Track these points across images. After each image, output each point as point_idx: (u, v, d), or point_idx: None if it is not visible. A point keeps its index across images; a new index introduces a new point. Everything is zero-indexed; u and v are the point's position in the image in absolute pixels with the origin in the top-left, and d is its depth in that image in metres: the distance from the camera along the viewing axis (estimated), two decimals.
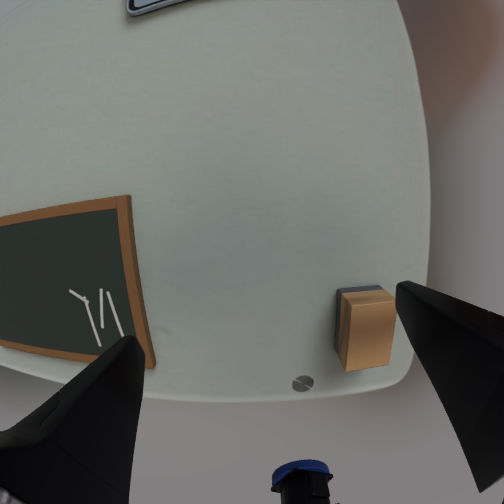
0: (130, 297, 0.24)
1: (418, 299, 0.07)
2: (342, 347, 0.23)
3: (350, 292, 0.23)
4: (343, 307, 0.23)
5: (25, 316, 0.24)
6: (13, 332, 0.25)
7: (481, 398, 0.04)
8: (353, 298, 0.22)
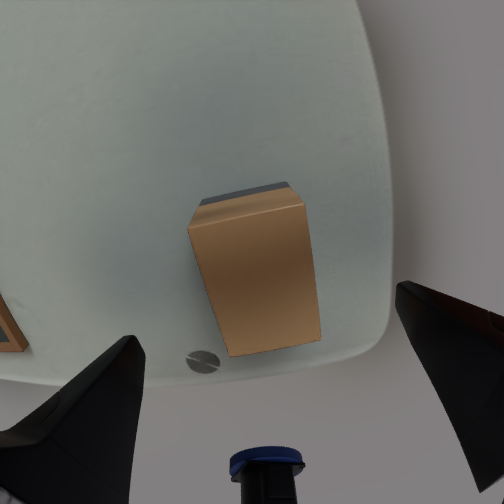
0: None
1: (418, 299, 0.07)
2: None
3: (215, 202, 0.12)
4: None
5: None
6: None
7: (481, 398, 0.04)
8: (208, 212, 0.11)
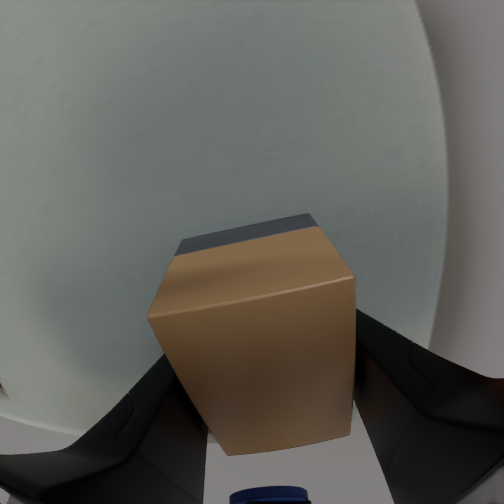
0: None
1: None
2: None
3: (199, 250, 0.08)
4: None
5: None
6: None
7: (393, 439, 0.05)
8: (185, 276, 0.06)
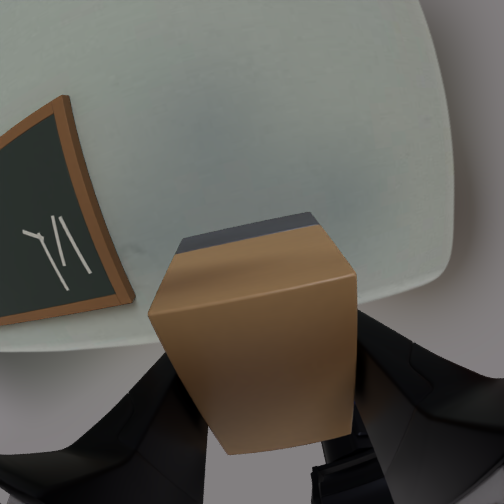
0: (85, 214, 0.17)
1: None
2: None
3: (200, 248, 0.08)
4: None
5: None
6: None
7: (393, 439, 0.05)
8: (186, 274, 0.06)
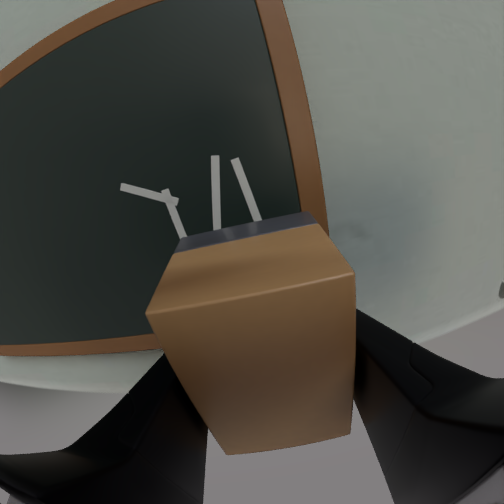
0: (298, 161, 0.10)
1: None
2: None
3: (199, 248, 0.08)
4: None
5: (24, 287, 0.12)
6: (10, 326, 0.13)
7: (393, 439, 0.05)
8: (183, 273, 0.06)
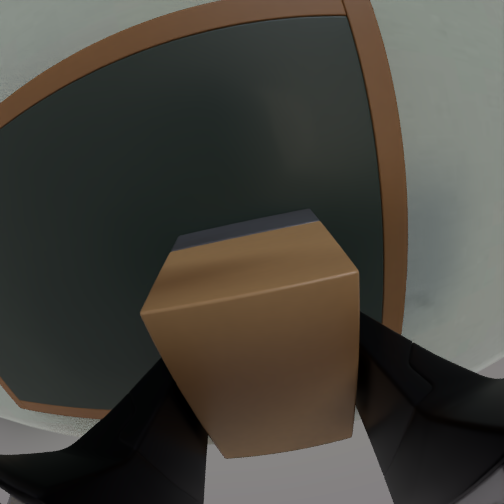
0: (389, 247, 0.09)
1: None
2: None
3: (196, 246, 0.07)
4: None
5: (56, 359, 0.11)
6: (39, 389, 0.12)
7: (393, 439, 0.05)
8: (180, 272, 0.06)
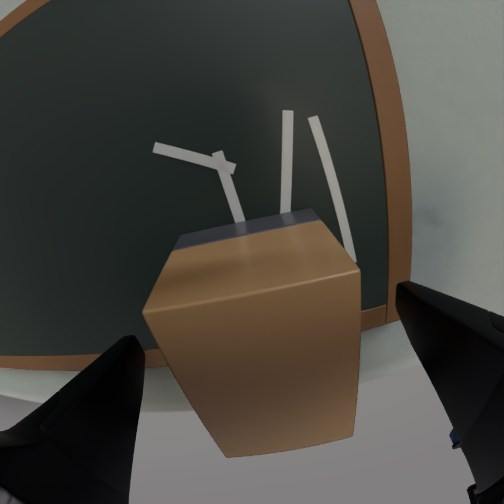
0: (385, 127, 0.08)
1: (418, 299, 0.07)
2: None
3: (198, 245, 0.07)
4: None
5: (17, 287, 0.09)
6: (2, 334, 0.10)
7: (481, 398, 0.04)
8: (182, 271, 0.06)
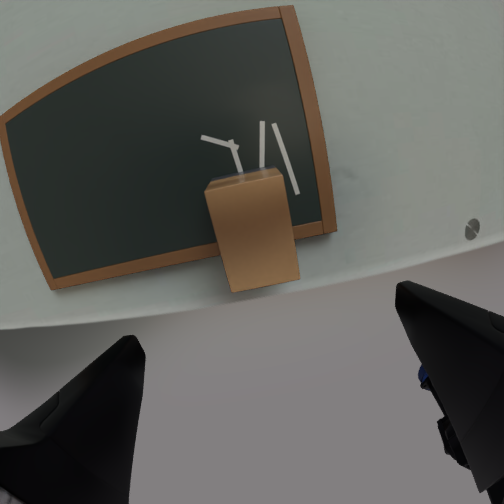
0: (310, 126, 0.17)
1: (418, 299, 0.07)
2: None
3: (222, 179, 0.17)
4: None
5: (104, 214, 0.19)
6: (78, 254, 0.20)
7: (481, 398, 0.04)
8: (217, 183, 0.15)
